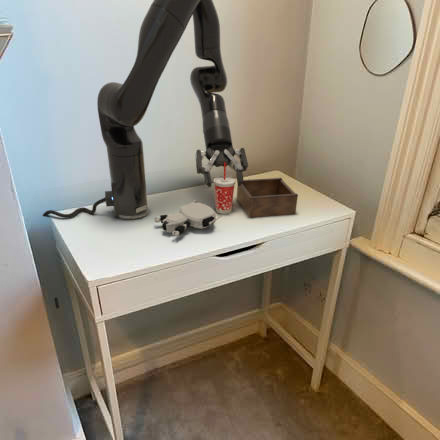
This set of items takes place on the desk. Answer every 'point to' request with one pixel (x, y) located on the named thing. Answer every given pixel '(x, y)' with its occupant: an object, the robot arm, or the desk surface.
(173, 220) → the robot toy
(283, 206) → the crate
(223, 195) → the beverage cup
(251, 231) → the desk surface
